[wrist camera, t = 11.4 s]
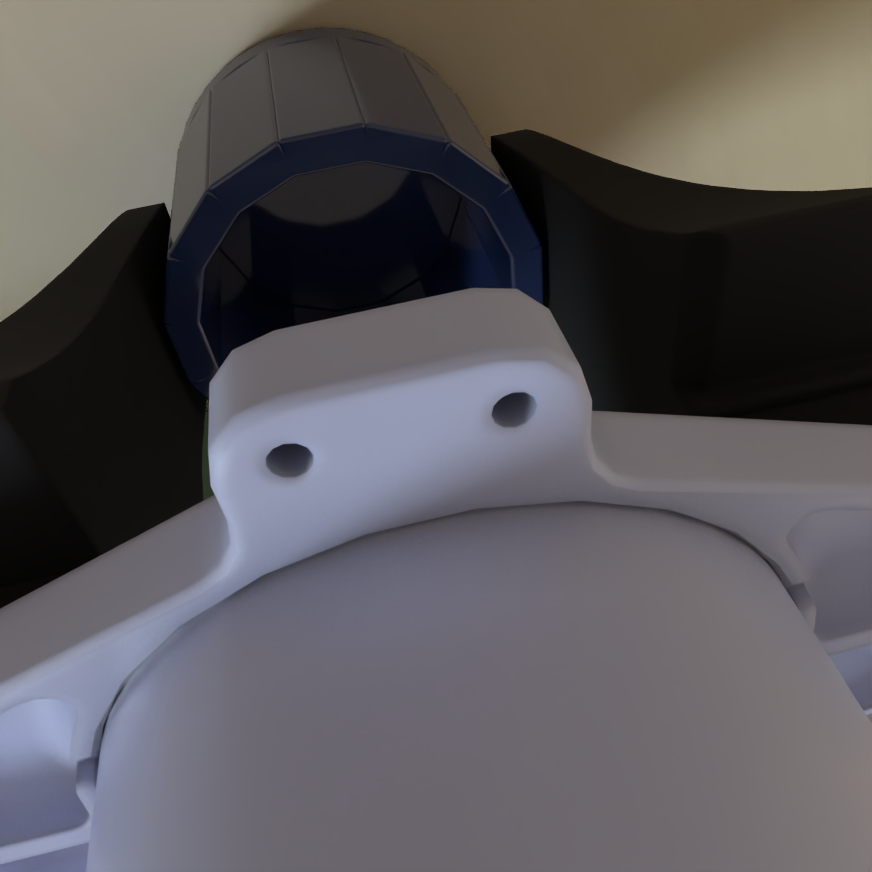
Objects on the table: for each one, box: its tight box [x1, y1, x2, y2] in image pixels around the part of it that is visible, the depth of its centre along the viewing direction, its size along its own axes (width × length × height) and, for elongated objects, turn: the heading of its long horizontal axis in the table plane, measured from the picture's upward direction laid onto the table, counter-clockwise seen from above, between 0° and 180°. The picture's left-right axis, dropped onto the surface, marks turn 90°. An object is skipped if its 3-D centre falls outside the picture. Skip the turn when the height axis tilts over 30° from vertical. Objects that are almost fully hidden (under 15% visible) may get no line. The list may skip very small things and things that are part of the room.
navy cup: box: [163, 28, 544, 401], centre depth 13 cm, size 5×5×4 cm
